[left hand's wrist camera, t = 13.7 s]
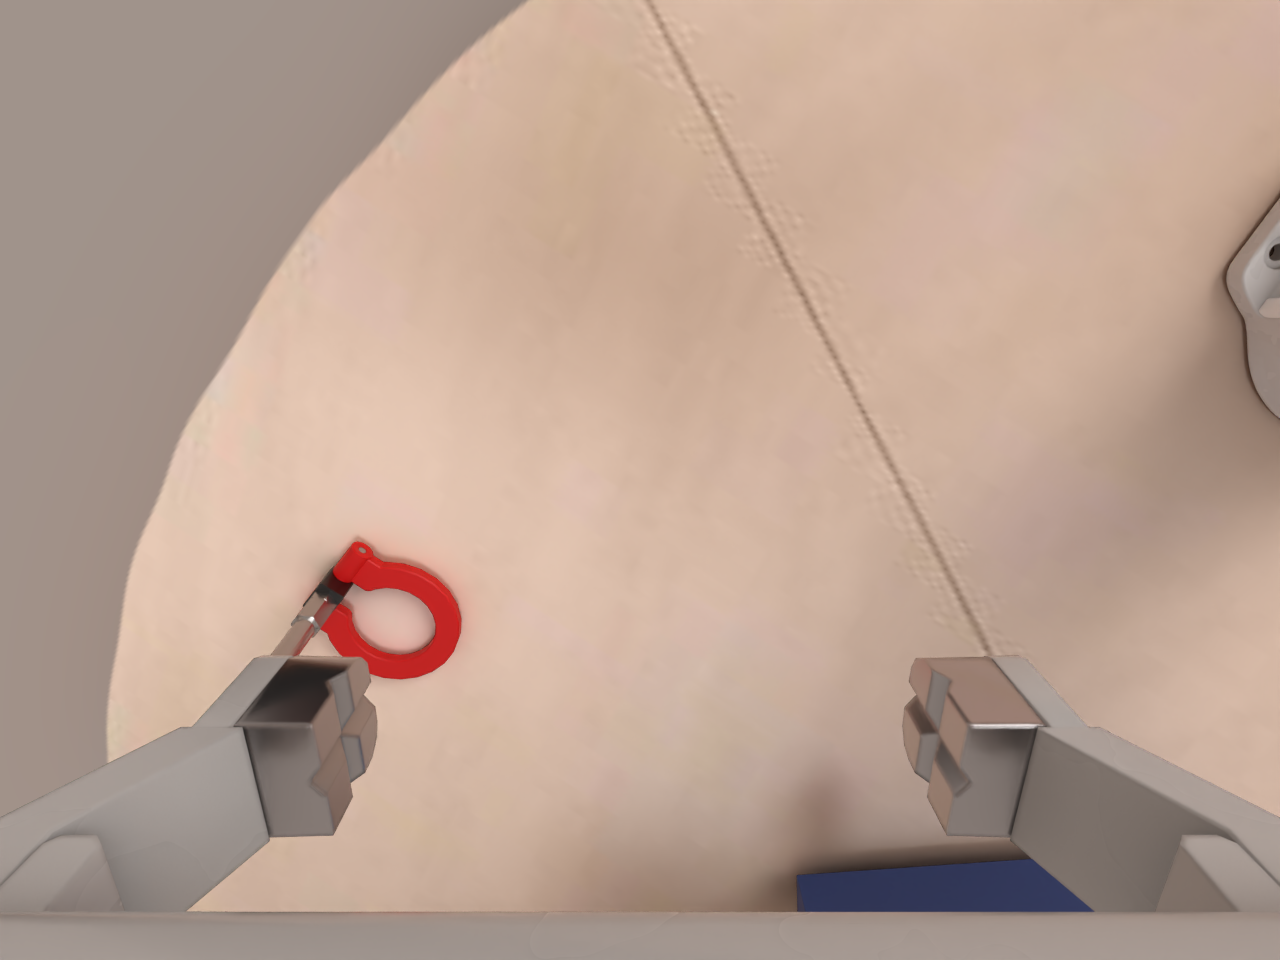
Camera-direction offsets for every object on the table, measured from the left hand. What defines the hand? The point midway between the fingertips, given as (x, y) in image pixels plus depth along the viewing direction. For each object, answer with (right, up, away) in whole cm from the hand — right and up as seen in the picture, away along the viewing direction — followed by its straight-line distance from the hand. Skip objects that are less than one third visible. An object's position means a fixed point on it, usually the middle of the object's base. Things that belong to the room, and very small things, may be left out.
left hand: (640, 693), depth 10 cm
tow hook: (-16, -5, +34) cm, 38 cm away
